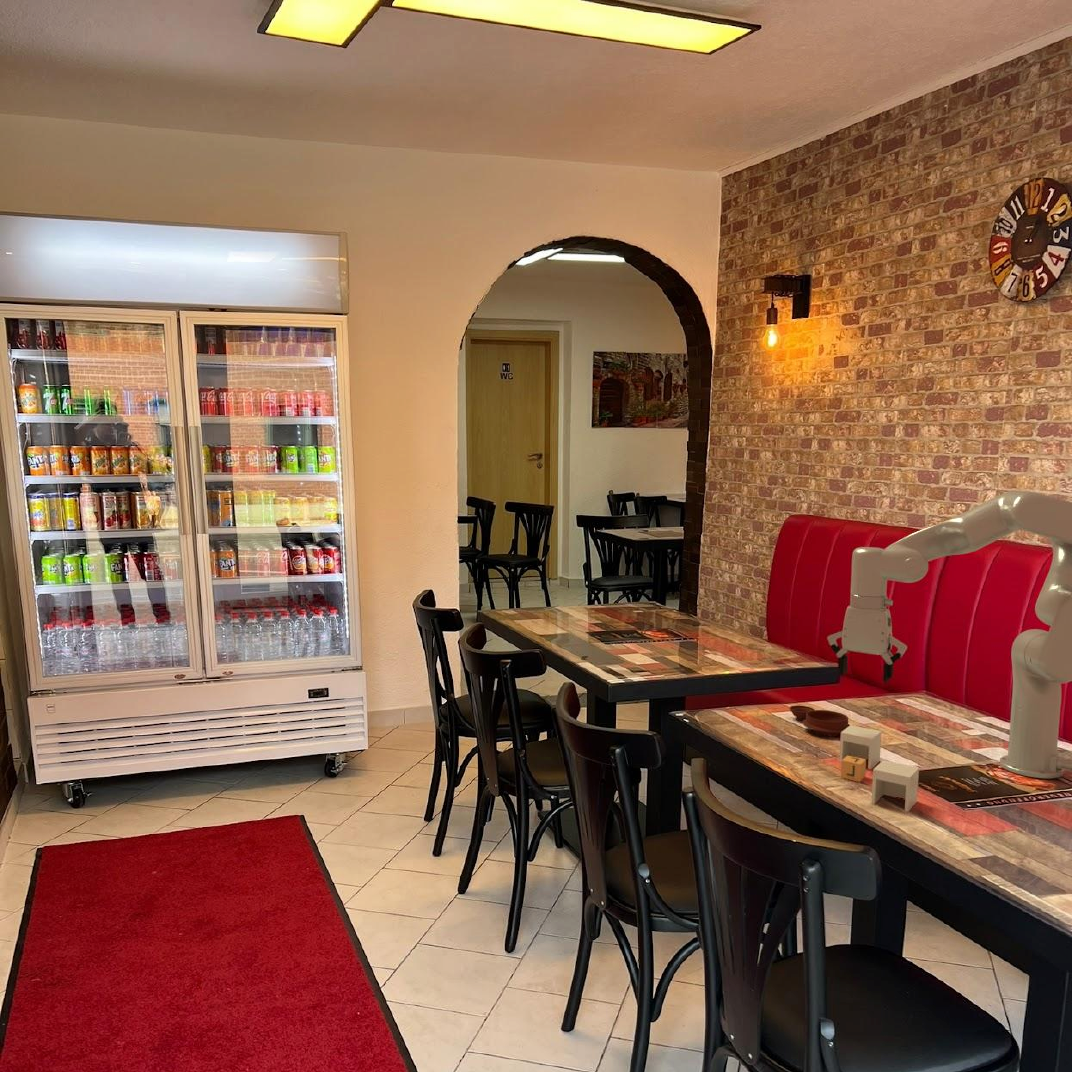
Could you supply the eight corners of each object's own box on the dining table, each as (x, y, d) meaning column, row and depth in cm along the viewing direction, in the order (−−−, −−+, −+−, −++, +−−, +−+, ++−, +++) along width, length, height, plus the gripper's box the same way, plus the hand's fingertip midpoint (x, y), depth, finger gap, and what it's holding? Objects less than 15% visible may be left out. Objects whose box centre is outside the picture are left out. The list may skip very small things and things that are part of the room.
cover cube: (879, 761, 205) (881, 731, 205) (870, 769, 200) (872, 738, 199) (848, 754, 209) (850, 725, 209) (839, 762, 204) (840, 732, 203)
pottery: (819, 741, 219) (820, 724, 218) (775, 718, 238) (776, 701, 237) (860, 738, 222) (861, 721, 222) (813, 715, 241) (814, 699, 241)
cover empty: (917, 801, 182) (919, 767, 181) (907, 812, 176) (910, 777, 175) (881, 792, 186) (883, 760, 185) (871, 803, 180) (873, 769, 179)
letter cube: (865, 777, 195) (866, 758, 195) (859, 782, 192) (860, 764, 191) (846, 773, 197) (847, 755, 197) (840, 778, 194) (841, 760, 194)
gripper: (912, 604, 199) (909, 680, 200) (834, 596, 209) (832, 668, 211) (903, 609, 193) (900, 687, 194) (824, 600, 203) (821, 674, 205)
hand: (864, 677), depth 203 cm, fingers open, 9 cm apart
